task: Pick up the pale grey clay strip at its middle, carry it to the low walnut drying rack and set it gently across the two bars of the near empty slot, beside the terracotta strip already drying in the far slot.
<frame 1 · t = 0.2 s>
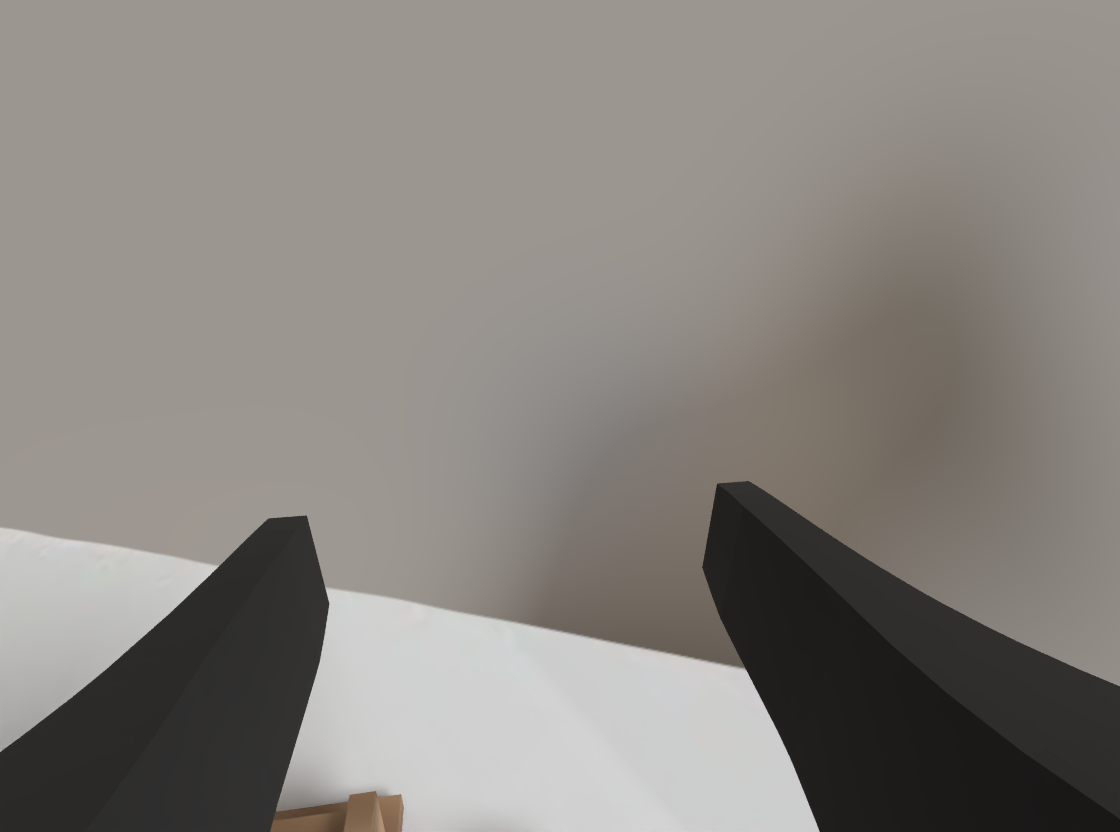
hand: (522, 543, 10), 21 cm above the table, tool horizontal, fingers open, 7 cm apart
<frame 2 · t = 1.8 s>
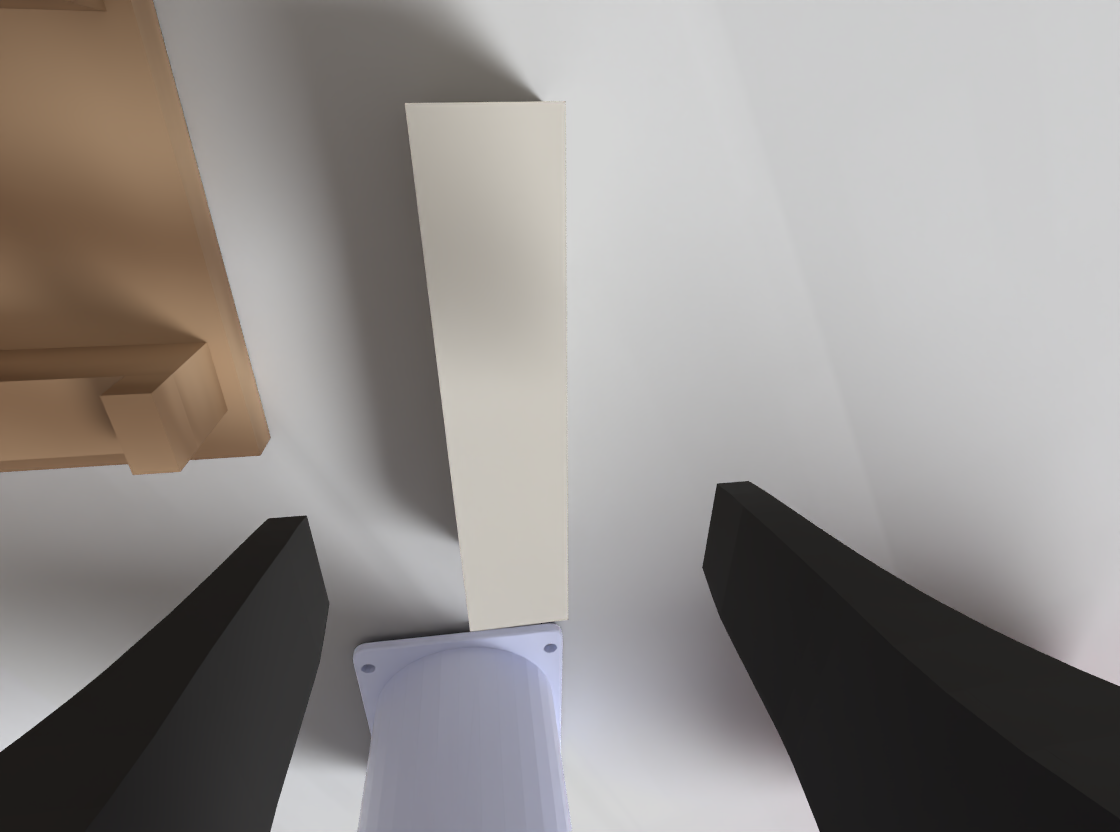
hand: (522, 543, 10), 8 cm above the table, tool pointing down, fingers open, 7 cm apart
clay strip: (499, 362, 18), on the table
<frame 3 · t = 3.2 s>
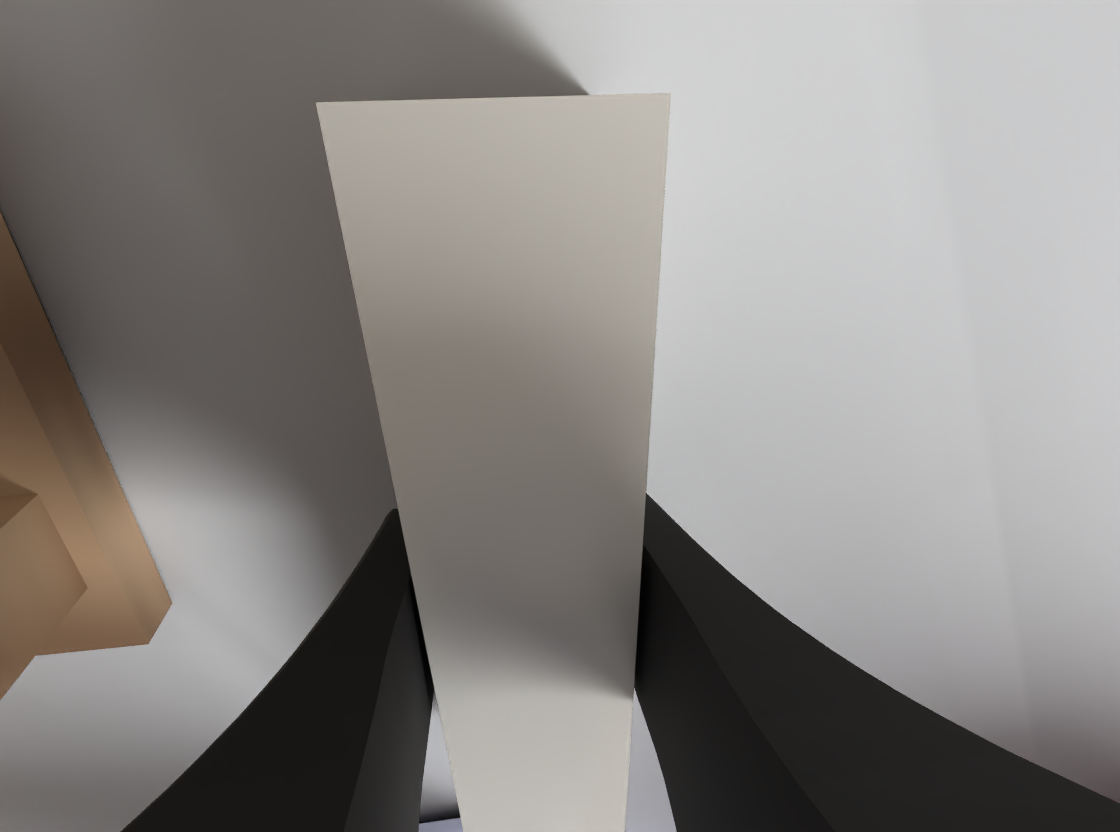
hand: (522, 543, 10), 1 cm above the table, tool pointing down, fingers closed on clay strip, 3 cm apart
clay strip: (515, 489, 12), on the table, touching gripper
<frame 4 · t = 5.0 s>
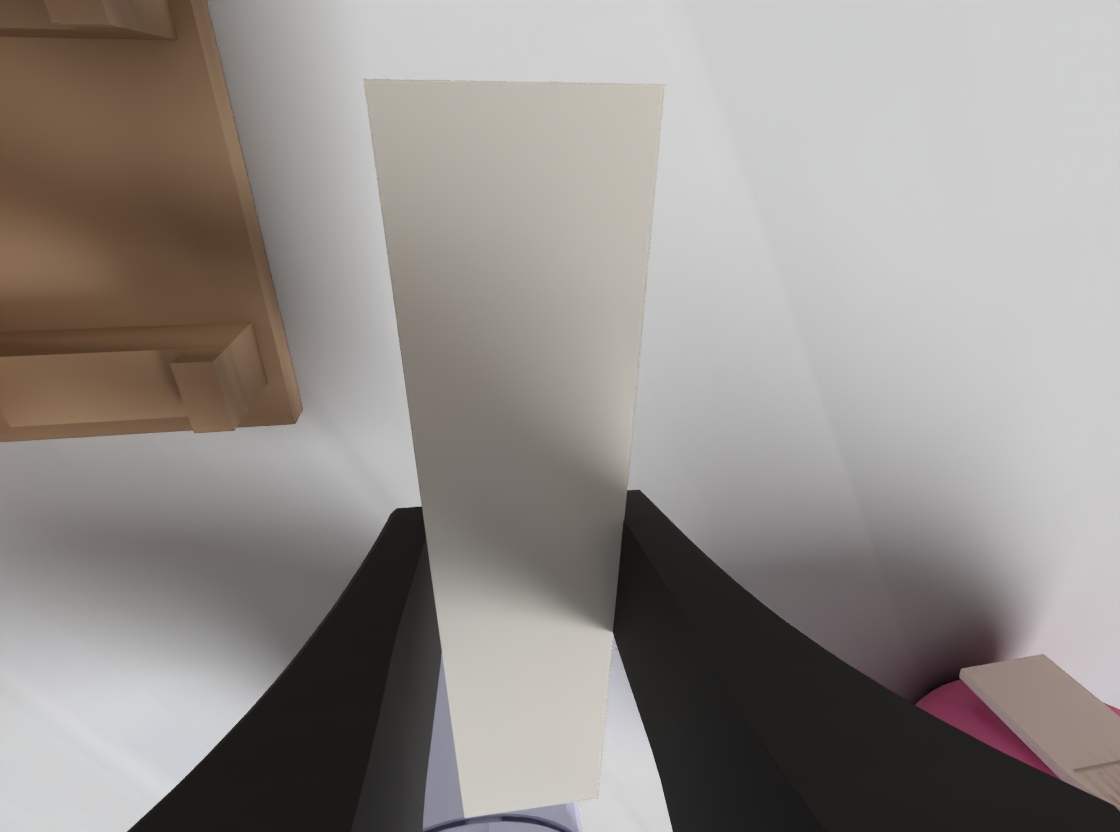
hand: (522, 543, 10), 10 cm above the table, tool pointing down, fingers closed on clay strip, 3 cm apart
decorative house: (943, 688, 34), on the table
clay strip: (511, 448, 13), point 8 cm above the table, touching gripper
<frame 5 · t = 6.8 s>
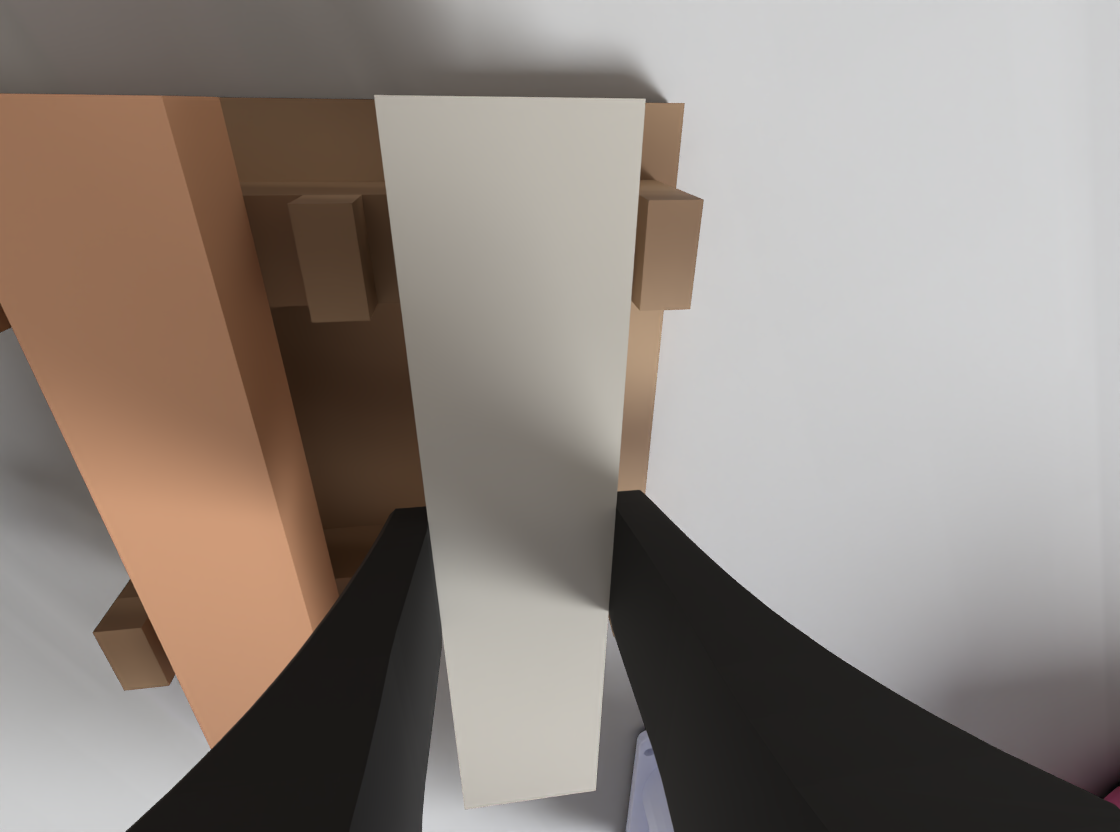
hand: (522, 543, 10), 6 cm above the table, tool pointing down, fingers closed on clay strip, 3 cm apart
drying rack: (392, 396, 15), on the table
clay strip: (510, 446, 13), point 3 cm above the table, touching drying rack, gripper
fired strip: (234, 465, 12), point 3 cm above the table, touching drying rack
when the fingers open (5 cm above the table, at t = 7.8 s): clay strip stays where it is, resting on drying rack.
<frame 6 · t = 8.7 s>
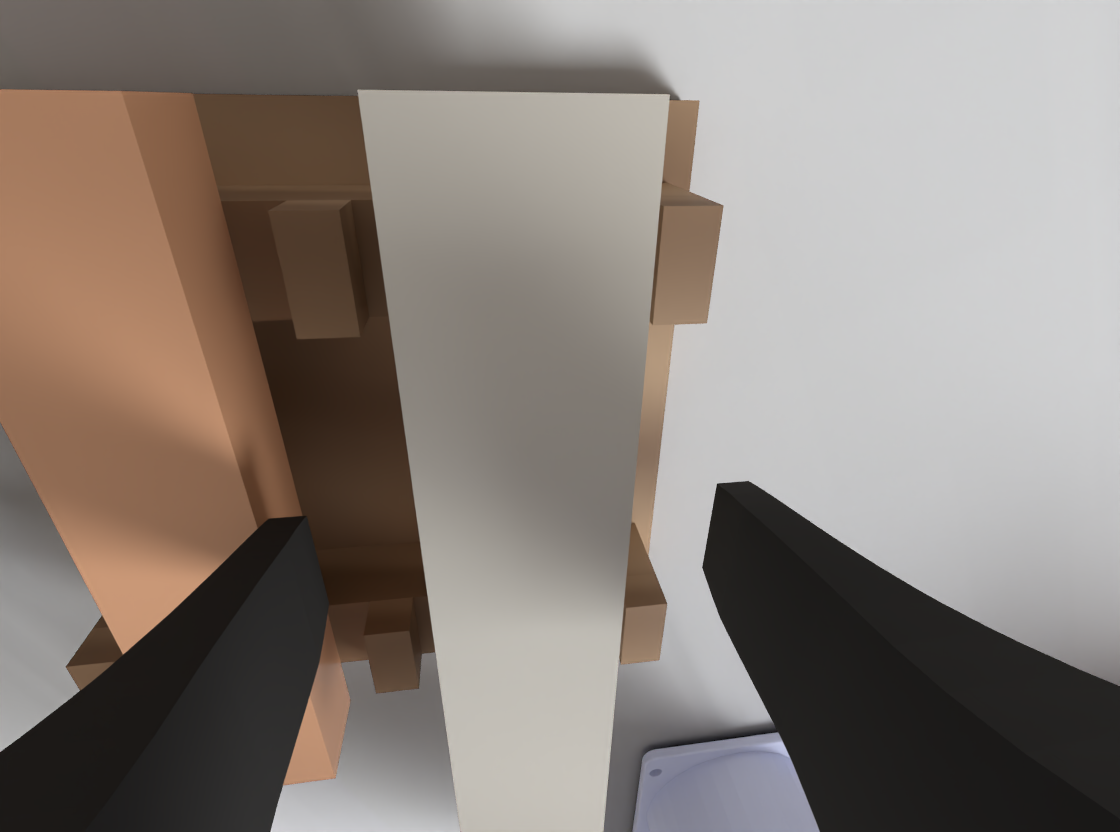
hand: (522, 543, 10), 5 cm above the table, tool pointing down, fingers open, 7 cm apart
drying rack: (386, 411, 15), on the table
clay strip: (511, 467, 12), point 3 cm above the table, touching drying rack
fired strip: (216, 489, 12), point 3 cm above the table, touching drying rack
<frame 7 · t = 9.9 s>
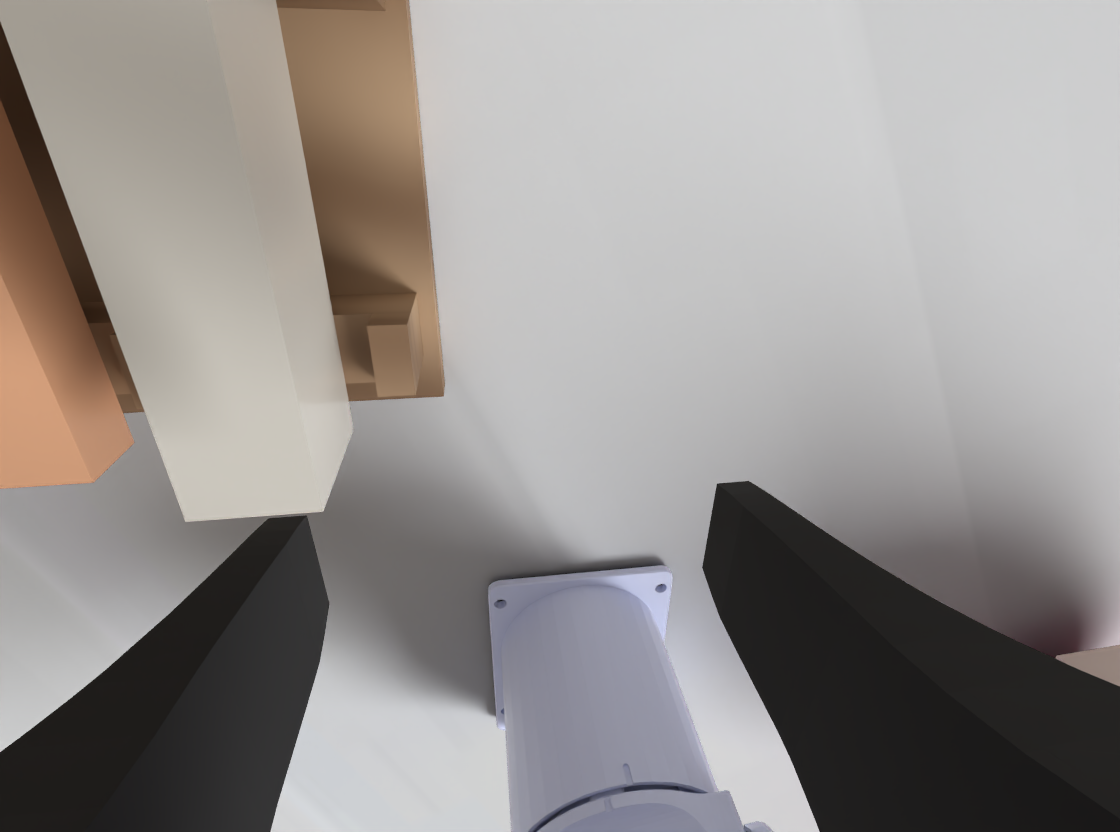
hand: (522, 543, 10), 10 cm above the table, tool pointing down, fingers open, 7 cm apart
drying rack: (164, 164, 16), on the table
decorative house: (1025, 679, 34), on the table
clay strip: (240, 172, 13), point 3 cm above the table, touching drying rack
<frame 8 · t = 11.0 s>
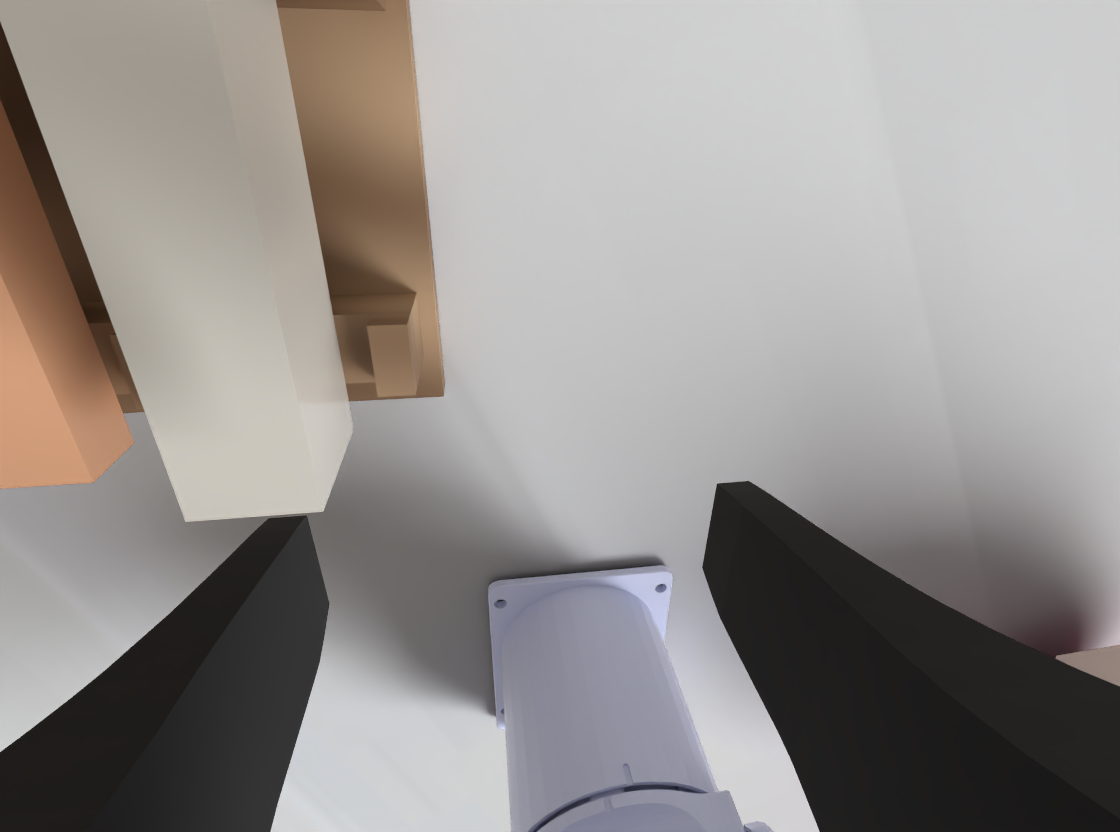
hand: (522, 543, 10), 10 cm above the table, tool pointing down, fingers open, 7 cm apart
drying rack: (164, 164, 16), on the table
decorative house: (1025, 679, 34), on the table
clay strip: (240, 172, 13), point 3 cm above the table, touching drying rack
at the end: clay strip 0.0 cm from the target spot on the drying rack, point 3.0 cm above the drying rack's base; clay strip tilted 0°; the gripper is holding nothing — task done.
